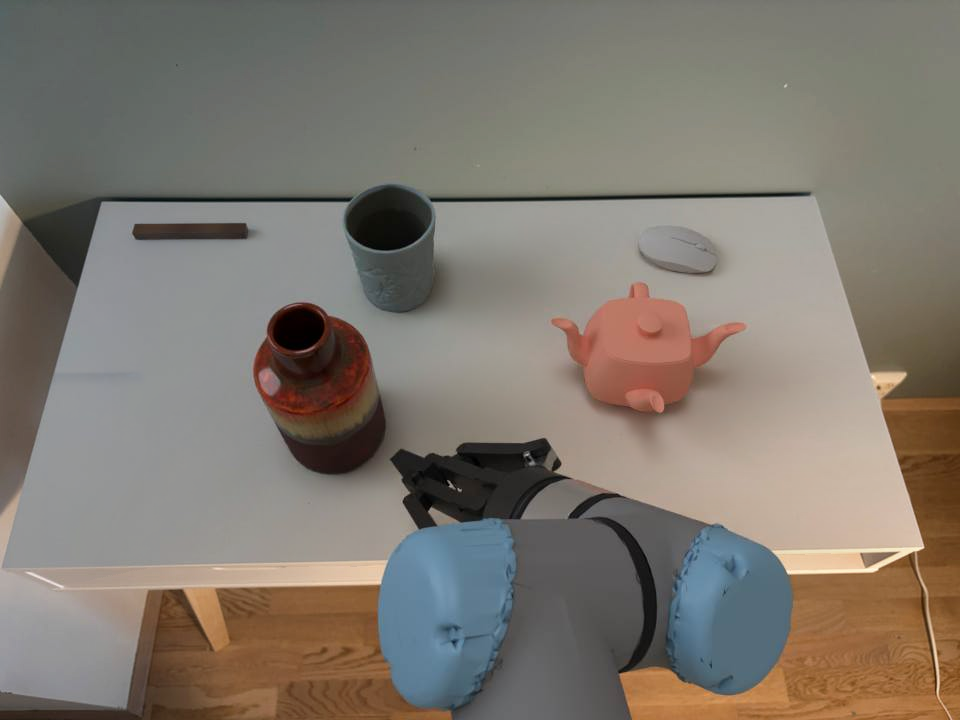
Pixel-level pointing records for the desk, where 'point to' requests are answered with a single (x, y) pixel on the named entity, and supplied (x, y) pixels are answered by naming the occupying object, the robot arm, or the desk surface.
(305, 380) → the vase
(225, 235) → the strip
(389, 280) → the grey-blue ceramic planter
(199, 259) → the desk surface
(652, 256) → the computer mouse
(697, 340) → the teapot
